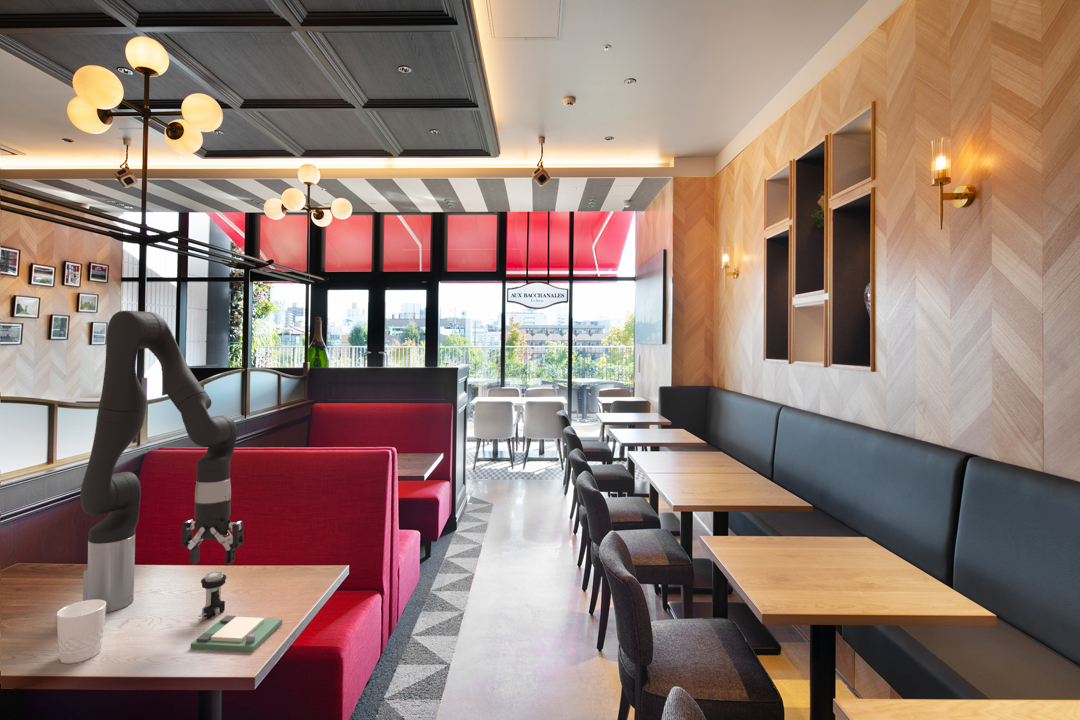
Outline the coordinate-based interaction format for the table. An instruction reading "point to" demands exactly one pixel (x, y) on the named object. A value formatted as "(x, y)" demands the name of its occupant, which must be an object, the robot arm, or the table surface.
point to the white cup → (80, 630)
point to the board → (237, 634)
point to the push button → (213, 595)
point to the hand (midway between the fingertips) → (212, 563)
